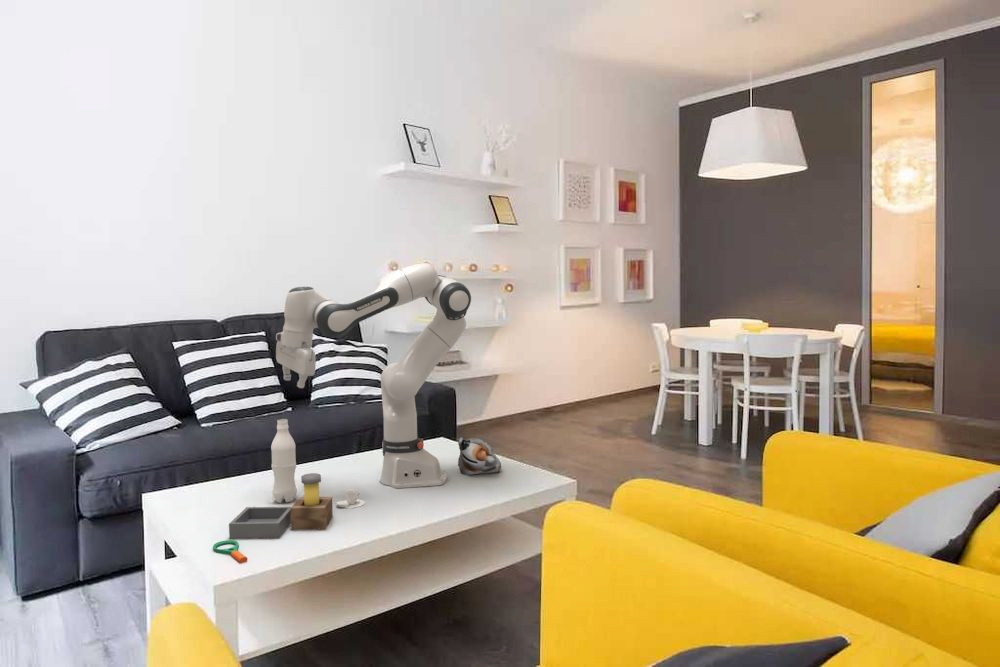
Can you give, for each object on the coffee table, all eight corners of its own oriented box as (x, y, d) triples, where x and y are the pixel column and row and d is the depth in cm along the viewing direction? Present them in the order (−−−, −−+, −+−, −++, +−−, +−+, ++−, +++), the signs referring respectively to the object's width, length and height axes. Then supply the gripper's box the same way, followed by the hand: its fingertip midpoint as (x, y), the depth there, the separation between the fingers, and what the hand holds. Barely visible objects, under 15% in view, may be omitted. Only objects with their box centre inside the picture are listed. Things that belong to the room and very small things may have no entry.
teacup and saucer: (337, 511, 202) (337, 497, 201) (332, 503, 209) (332, 490, 209) (367, 507, 205) (367, 493, 205) (361, 499, 213) (361, 486, 212)
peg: (324, 520, 193) (322, 473, 192) (319, 526, 188) (318, 478, 187) (305, 520, 193) (304, 473, 192) (300, 527, 188) (299, 478, 187)
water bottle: (290, 495, 216) (287, 416, 214) (301, 500, 211) (299, 420, 208) (268, 500, 211) (265, 420, 209) (279, 506, 206) (276, 423, 203)
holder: (332, 517, 196) (332, 496, 195) (325, 529, 186) (324, 507, 186) (300, 517, 195) (299, 497, 195) (291, 529, 186) (290, 508, 186)
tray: (293, 520, 193) (292, 506, 193) (279, 538, 180) (278, 523, 180) (246, 521, 193) (246, 507, 193) (229, 538, 180) (228, 523, 180)
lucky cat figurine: (510, 469, 242) (509, 436, 233) (485, 492, 234) (483, 459, 225) (473, 449, 251) (471, 417, 242) (449, 471, 242) (445, 438, 234)
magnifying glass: (209, 548, 175) (208, 542, 174) (233, 542, 179) (232, 536, 178) (231, 567, 163) (230, 560, 163) (256, 560, 167) (255, 553, 167)
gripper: (322, 346, 204) (318, 391, 206) (292, 333, 219) (289, 375, 221) (302, 346, 200) (299, 392, 202) (273, 333, 215) (270, 376, 216)
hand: (293, 383), depth 211 cm, fingers open, 8 cm apart
